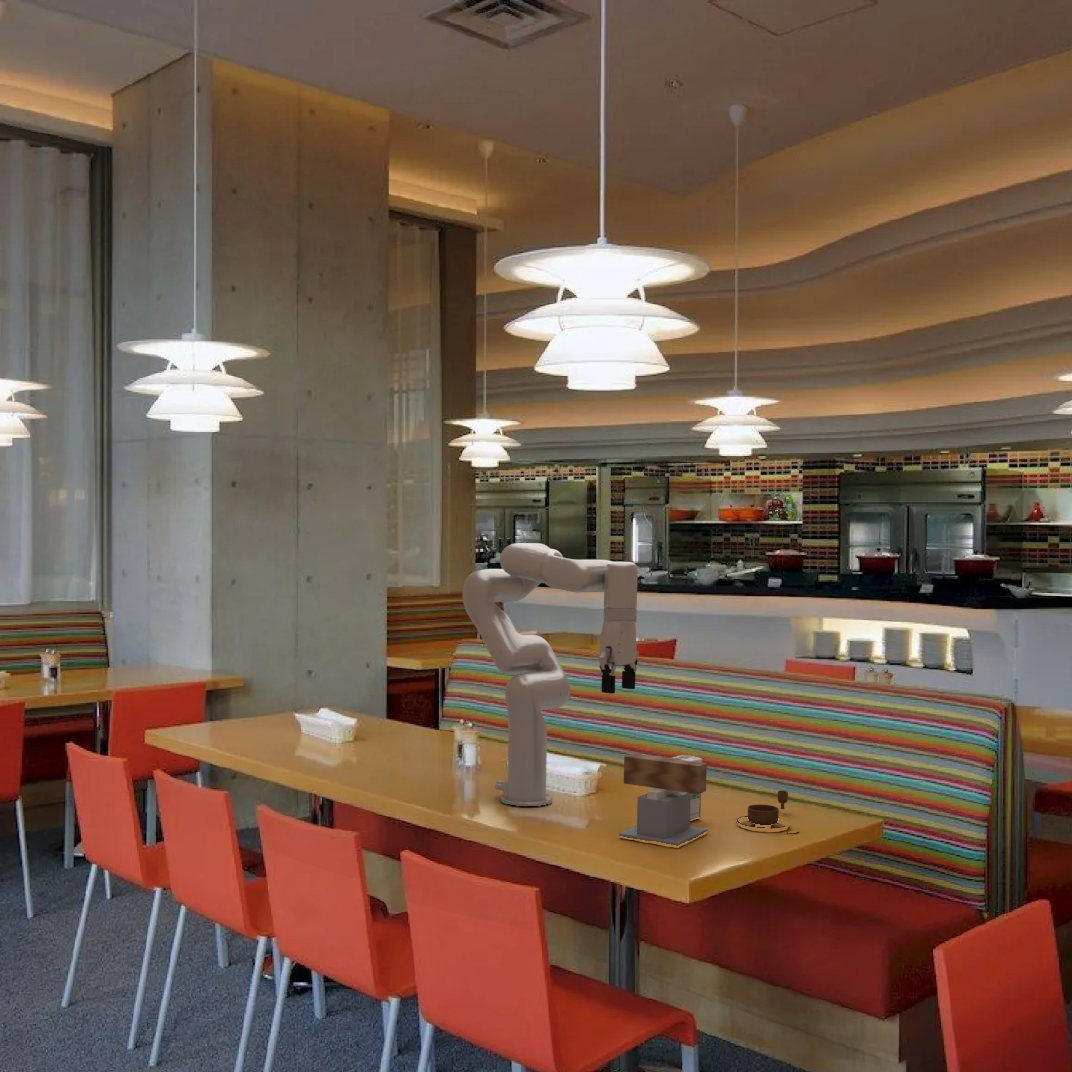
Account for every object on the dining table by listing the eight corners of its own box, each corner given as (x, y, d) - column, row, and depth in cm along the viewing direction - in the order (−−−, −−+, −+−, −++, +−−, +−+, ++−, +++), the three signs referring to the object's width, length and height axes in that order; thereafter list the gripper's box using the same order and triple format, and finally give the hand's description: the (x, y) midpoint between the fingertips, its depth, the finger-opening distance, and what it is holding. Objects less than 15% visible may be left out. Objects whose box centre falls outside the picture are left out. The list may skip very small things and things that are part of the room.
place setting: (717, 823, 274) (717, 798, 274) (781, 813, 285) (781, 789, 285) (769, 840, 259) (769, 813, 259) (834, 830, 270) (835, 804, 270)
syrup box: (679, 815, 279) (681, 753, 279) (701, 819, 275) (702, 757, 275) (666, 819, 274) (667, 757, 274) (688, 824, 271) (689, 760, 270)
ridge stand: (619, 838, 256) (620, 788, 256) (650, 825, 269) (651, 777, 269) (677, 849, 249) (678, 797, 249) (707, 834, 261) (708, 785, 261)
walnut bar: (623, 783, 262) (624, 756, 262) (632, 780, 265) (632, 753, 265) (698, 794, 252) (699, 766, 252) (706, 791, 256) (706, 763, 256)
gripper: (623, 613, 279) (621, 685, 279) (586, 616, 264) (585, 693, 264) (651, 614, 275) (650, 688, 275) (616, 618, 260) (614, 696, 260)
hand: (618, 690), depth 269 cm, fingers open, 9 cm apart
